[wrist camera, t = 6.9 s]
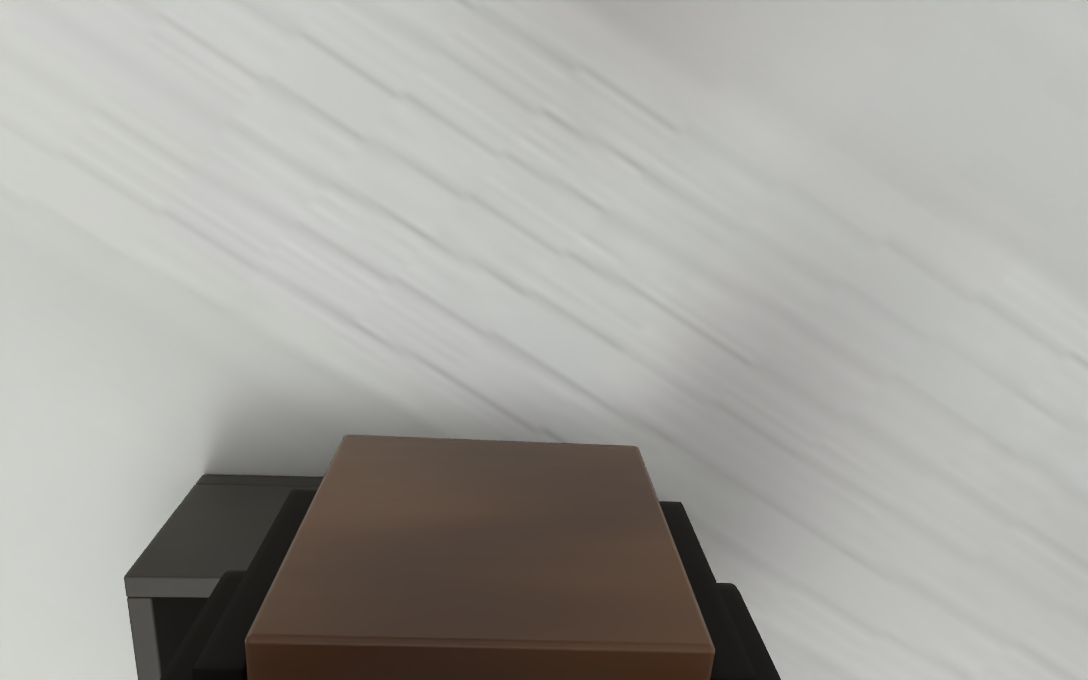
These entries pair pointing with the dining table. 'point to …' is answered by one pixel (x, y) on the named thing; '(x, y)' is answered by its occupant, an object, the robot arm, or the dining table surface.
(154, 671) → the dark gray box
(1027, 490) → the dining table surface
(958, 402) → the dining table surface
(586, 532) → the walnut block
